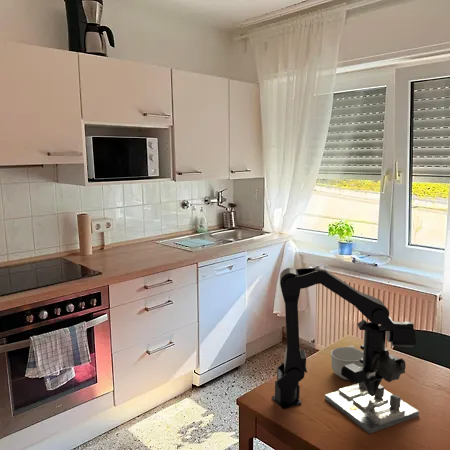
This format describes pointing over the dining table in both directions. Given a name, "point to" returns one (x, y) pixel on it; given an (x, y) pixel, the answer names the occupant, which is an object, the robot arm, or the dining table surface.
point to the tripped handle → (380, 392)
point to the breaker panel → (369, 408)
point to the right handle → (395, 401)
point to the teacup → (345, 358)
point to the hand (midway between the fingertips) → (371, 395)
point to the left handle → (362, 385)
